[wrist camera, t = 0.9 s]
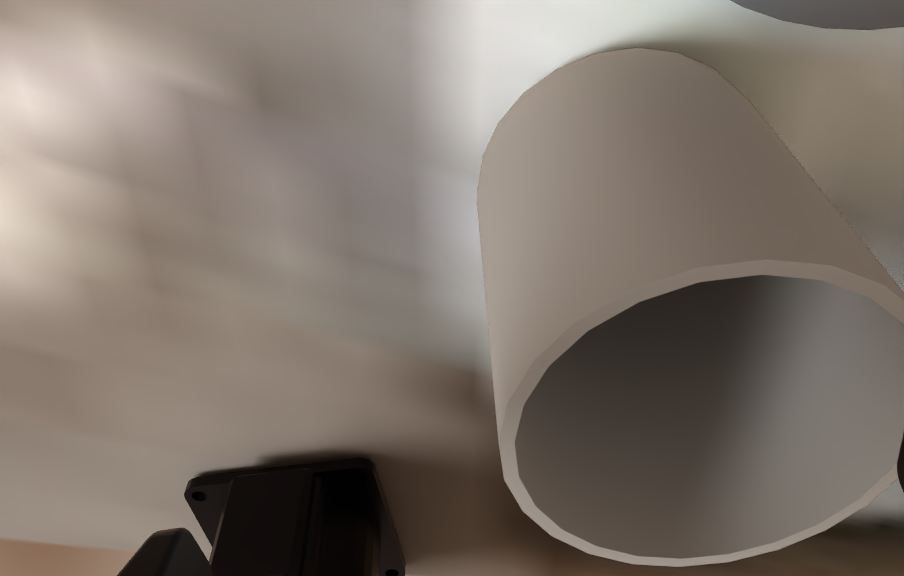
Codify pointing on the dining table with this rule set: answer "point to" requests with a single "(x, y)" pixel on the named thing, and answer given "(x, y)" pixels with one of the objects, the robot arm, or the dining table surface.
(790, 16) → the saucer
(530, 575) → the dining table surface
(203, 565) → the robot arm
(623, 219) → the cup
